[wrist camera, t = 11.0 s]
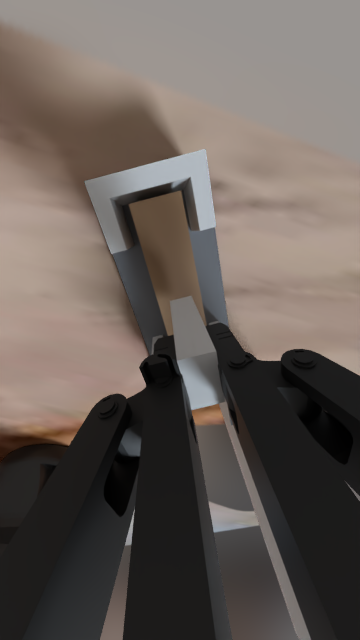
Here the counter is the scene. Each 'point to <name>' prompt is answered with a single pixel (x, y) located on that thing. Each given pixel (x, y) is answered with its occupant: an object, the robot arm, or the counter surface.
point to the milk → (267, 533)
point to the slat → (167, 251)
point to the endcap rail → (123, 239)
